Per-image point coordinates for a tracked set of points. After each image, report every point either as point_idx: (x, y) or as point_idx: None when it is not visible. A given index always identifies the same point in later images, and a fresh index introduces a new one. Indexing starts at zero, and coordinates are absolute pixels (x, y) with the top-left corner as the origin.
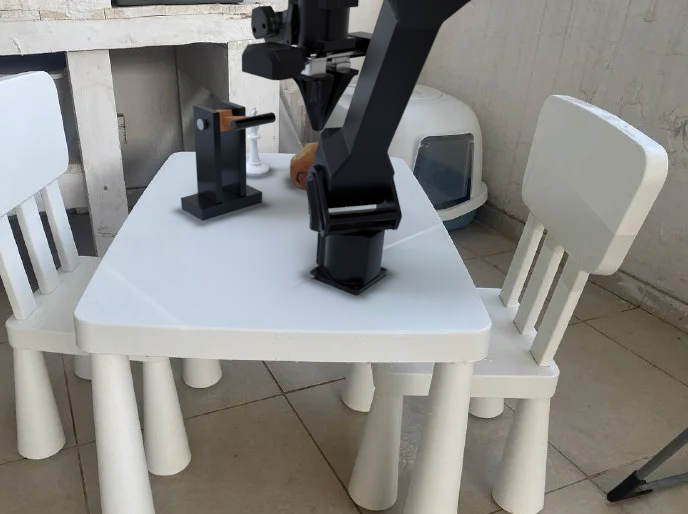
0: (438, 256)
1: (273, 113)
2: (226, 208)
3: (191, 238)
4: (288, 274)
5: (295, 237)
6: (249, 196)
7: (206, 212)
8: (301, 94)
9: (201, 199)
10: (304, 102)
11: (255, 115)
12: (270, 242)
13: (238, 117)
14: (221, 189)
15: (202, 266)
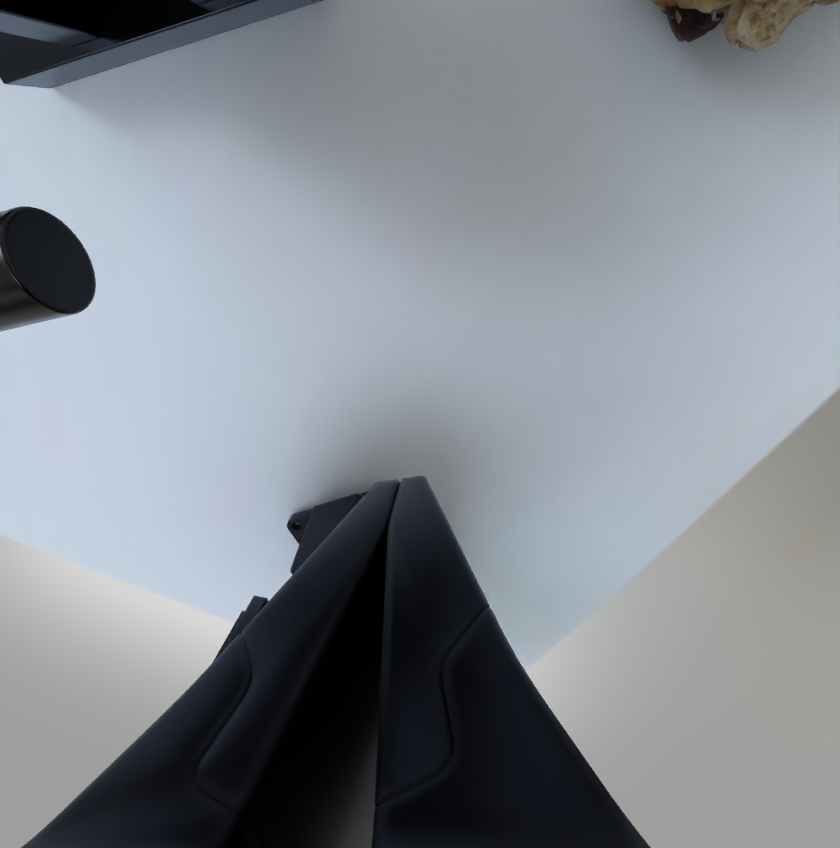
0: (608, 561)
1: (26, 303)
2: (133, 50)
3: (11, 198)
4: (249, 489)
5: (342, 340)
6: (244, 7)
7: (35, 80)
8: (165, 714)
9: None
10: (243, 639)
11: None
12: (258, 337)
13: None
14: (51, 26)
15: (50, 378)
